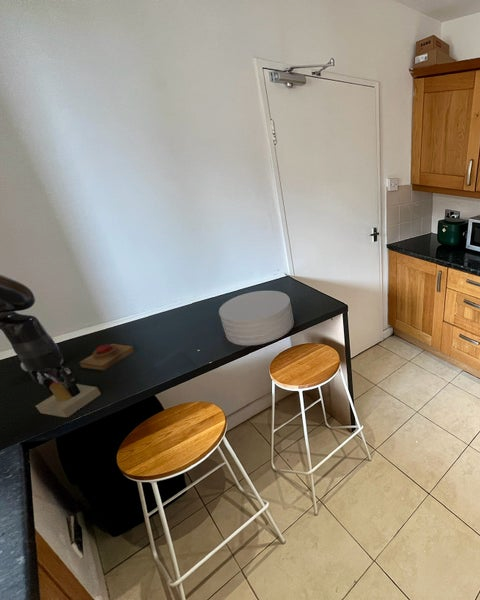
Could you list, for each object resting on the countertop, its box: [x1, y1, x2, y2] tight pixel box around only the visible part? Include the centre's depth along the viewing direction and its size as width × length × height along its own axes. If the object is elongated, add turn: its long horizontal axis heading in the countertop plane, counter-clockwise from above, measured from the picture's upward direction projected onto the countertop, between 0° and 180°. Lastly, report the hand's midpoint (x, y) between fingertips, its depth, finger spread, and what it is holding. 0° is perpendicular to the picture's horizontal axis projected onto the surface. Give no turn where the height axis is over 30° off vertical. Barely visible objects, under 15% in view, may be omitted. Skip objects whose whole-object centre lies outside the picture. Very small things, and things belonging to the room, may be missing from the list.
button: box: [95, 343, 112, 354], centre depth 117 cm, size 4×4×2 cm
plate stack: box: [218, 290, 295, 346], centre depth 136 cm, size 28×28×12 cm
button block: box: [78, 343, 135, 371], centre depth 118 cm, size 12×10×4 cm
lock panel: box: [35, 383, 102, 419], centre depth 98 cm, size 10×10×3 cm
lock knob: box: [49, 381, 72, 401], centre depth 96 cm, size 4×4×5 cm
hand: (65, 393), depth 97 cm, fingers open, 8 cm apart
